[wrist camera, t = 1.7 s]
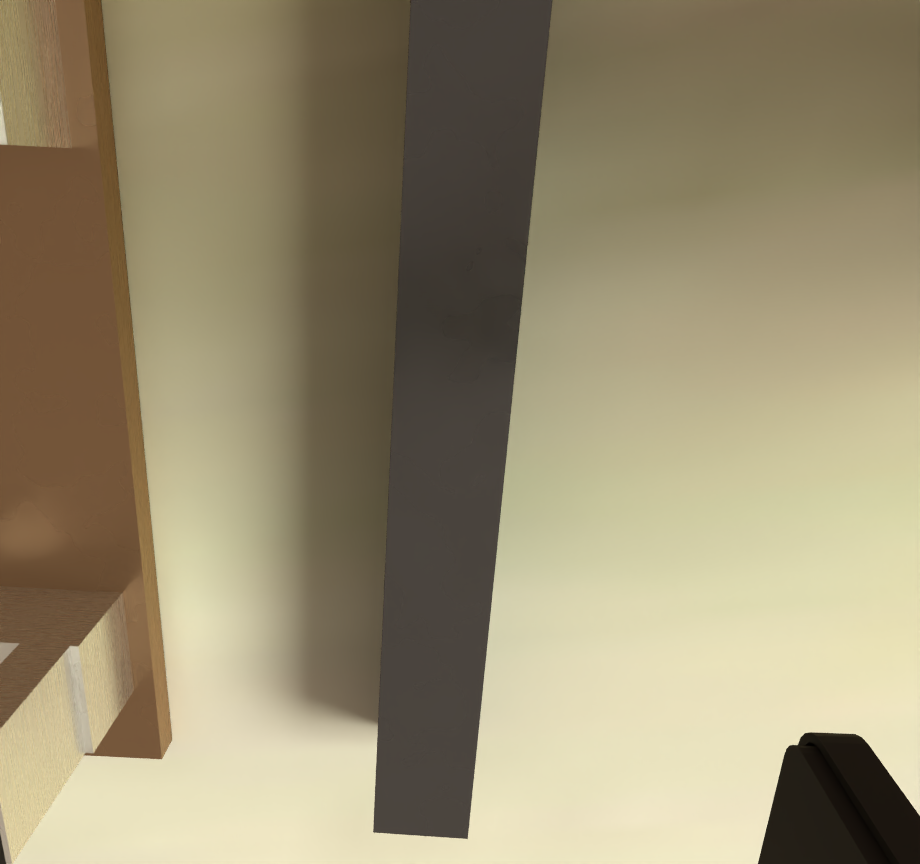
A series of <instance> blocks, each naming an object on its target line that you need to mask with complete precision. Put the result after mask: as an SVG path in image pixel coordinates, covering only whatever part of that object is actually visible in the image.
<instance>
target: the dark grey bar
mask: <svg viewBox="0 0 920 864" xmlns="http://www.w3.org/2000/svg"><path fill="white" fill-rule="evenodd" d="M551 8H552V0H411V10H410V33H409V55H408V77H407V99H406V121H405V143H404V165H403V187H402V210H401V232H400V254H399V276H398V298H397V320H396V342H395V364H394V387H393V409H392V431H391V453H390V475H389V497H388V519H387V541H386V564H385V586H384V608H383V630H382V652H381V674H380V696H379V718H378V741H377V763H376V785H375V807H374V829H373V832H376V833H390V834H405V835H420V836H435V837H449V838H464V839H468V829H469V819H470V810H471V800H472V790H473V780H474V770H475V760H476V750H477V740H478V730H479V720H480V711H481V701H482V691H483V681H484V671H485V661H486V651H487V641H488V631H489V622H490V612H491V602H492V592H493V582H494V572H495V562H496V552H497V542H498V532H499V523H500V513H501V503H502V493H503V483H504V473H505V463H506V453H507V443H508V434H509V424H510V414H511V404H512V394H513V384H514V374H515V364H516V354H517V344H518V335H519V325H520V315H521V305H522V295H523V285H524V275H525V265H526V255H527V246H528V236H529V226H530V216H531V206H532V196H533V186H534V176H535V166H536V156H537V147H538V137H539V127H540V117H541V107H542V97H543V87H544V77H545V67H546V57H547V48H548V38H549V28H550V18H551Z"/></svg>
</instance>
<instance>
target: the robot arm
mask: <svg viewBox="0 0 920 864" xmlns="http://www.w3.org/2000/svg"><path fill="white" fill-rule="evenodd" d="M0 864H6V860H5V855H4V850H3V845H2V840H1V835H0ZM758 864H920V816H919V814H918V813H917V812H916V810H915V809H914V807H913V806H912V805H911V803H910V802H909V800H908V799H907V798H906V796H905V795H904V793H903V792H902V791H901V789H900V788H899V787H898V785H897V784H896V782H895V781H894V780H893V778H892V777H891V775H890V774H889V773H888V771H887V770H886V768H885V767H884V766H883V764H882V763H881V762H880V760H879V759H878V757H877V756H876V755H875V753H874V752H873V750H872V749H871V748H870V746H869V745H868V744H867V743H866V741H865V740H864V739H863V738H862V737H860V736H858V735H856V734H836V733H805V734H804V735H803V736H802V737H801V739H800V741H799V744H798V745H791V746H789V747H788V748H787V749H786V752H785V755H784V759H783V763H782V767H781V771H780V775H779V779H778V784H777V788H776V792H775V796H774V800H773V804H772V808H771V812H770V817H769V821H768V825H767V829H766V833H765V837H764V841H763V845H762V849H761V854H760V858H759V862H758Z"/></svg>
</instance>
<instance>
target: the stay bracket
mask: <svg viewBox="0 0 920 864" xmlns="http://www.w3.org/2000/svg"><path fill="white" fill-rule="evenodd" d="M171 741H172V733H171V723H170V712H169V702H168V692H167V681H166V671H165V660H164V650H163V640H162V629H161V619H160V608H159V598H158V588H157V577H156V567H155V557H154V546H153V536H152V525H151V515H150V505H149V494H148V484H147V473H146V463H145V453H144V442H143V432H142V422H141V411H140V401H139V390H138V380H137V370H136V359H135V349H134V338H133V328H132V318H131V307H130V297H129V287H128V276H127V266H126V255H125V245H124V235H123V224H122V214H121V203H120V193H119V183H118V172H117V162H116V152H115V141H114V131H113V120H112V110H111V100H110V89H109V79H108V68H107V58H106V48H105V37H104V27H103V17H102V6H101V0H0V835H1V840H2V845H3V850H4V855H5V860H6V864H13V862H14V861H15V859H16V858H17V856H18V855H19V853H20V852H21V850H22V849H23V847H24V846H25V844H26V843H27V841H28V840H29V838H30V836H31V835H32V833H33V832H34V830H35V829H36V827H37V826H38V824H39V823H40V821H41V820H42V818H43V817H44V815H45V814H46V812H47V811H48V809H49V808H50V806H51V805H52V803H53V802H54V800H55V798H56V797H57V795H58V794H59V792H60V791H61V789H62V788H63V786H64V785H65V783H66V782H67V780H68V779H69V777H70V776H71V774H72V773H73V771H74V770H75V768H76V767H77V765H78V764H79V762H80V761H81V759H82V757H83V756H84V755H90V756H110V757H130V758H150V759H162V758H163V756H164V754H165V752H166V750H167V748H168V746H169V744H170V743H171Z"/></svg>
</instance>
